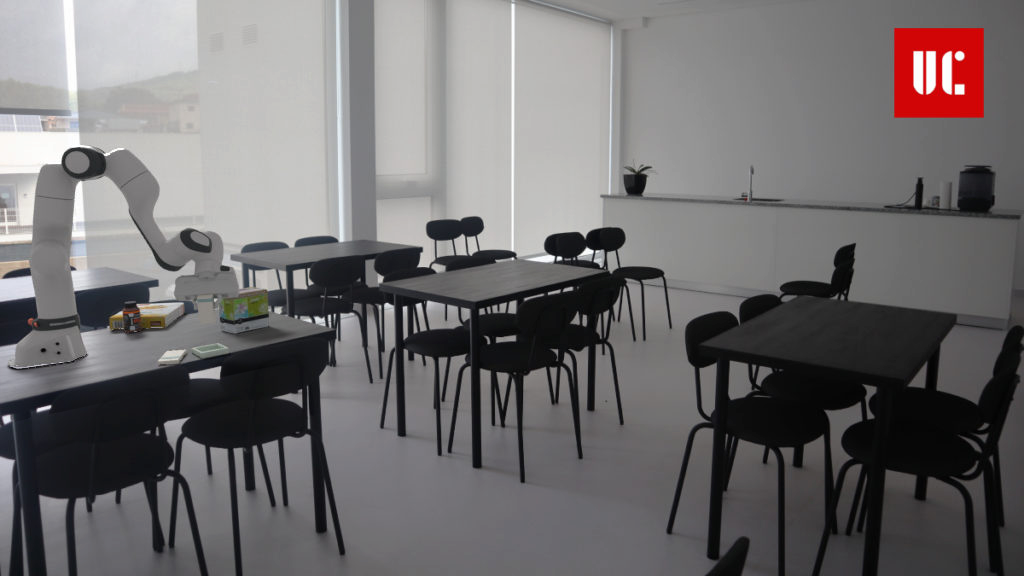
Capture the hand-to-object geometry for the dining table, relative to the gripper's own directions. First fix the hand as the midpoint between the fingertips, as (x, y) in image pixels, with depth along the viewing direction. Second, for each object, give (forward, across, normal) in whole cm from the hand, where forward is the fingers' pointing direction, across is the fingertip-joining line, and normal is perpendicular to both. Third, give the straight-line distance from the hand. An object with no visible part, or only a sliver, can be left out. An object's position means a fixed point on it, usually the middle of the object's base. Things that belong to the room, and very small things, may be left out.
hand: (206, 308), depth 254 cm
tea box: (-13, +7, +36) cm, 39 cm away
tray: (+10, 0, +11) cm, 15 cm away
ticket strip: (+13, -11, +8) cm, 19 cm away
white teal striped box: (+3, 0, +4) cm, 5 cm away
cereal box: (-30, -33, +53) cm, 69 cm away
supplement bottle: (-19, -34, +41) cm, 56 cm away
